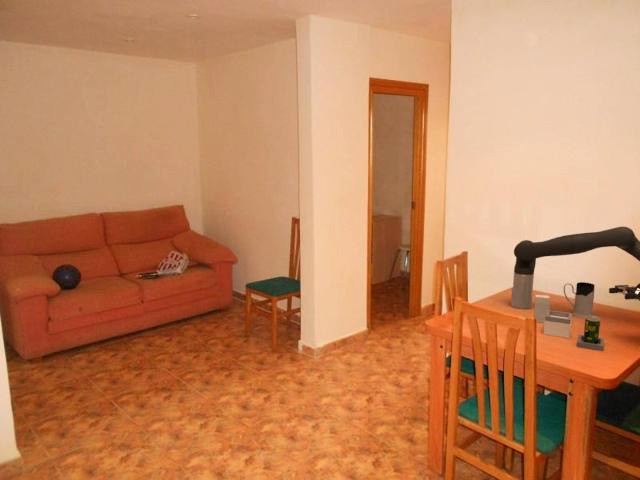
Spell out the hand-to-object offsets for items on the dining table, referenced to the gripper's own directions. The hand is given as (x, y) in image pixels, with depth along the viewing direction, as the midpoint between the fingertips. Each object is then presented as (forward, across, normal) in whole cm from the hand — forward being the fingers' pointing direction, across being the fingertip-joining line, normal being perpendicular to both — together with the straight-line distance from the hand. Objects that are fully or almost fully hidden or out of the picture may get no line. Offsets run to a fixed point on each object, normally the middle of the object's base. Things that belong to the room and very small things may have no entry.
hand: (617, 293), depth 210 cm
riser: (+14, -15, +21) cm, 30 cm away
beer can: (+10, 0, +21) cm, 23 cm away
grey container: (-11, -36, +21) cm, 43 cm away
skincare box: (+13, -30, +21) cm, 39 cm away
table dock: (+10, 0, +21) cm, 23 cm away
